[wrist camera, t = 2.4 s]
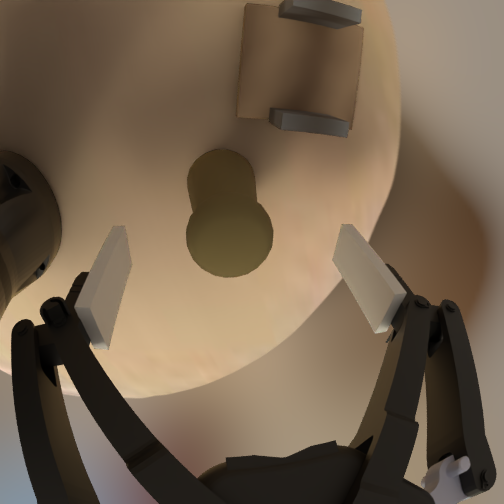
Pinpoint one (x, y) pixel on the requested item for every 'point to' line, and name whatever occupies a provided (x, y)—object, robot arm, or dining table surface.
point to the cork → (226, 216)
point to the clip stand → (301, 65)
